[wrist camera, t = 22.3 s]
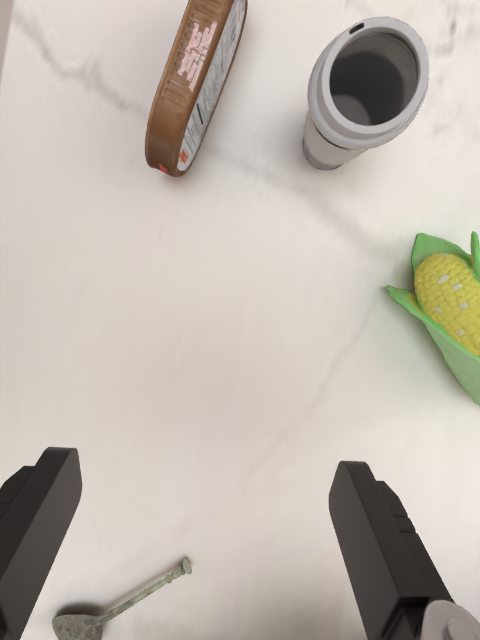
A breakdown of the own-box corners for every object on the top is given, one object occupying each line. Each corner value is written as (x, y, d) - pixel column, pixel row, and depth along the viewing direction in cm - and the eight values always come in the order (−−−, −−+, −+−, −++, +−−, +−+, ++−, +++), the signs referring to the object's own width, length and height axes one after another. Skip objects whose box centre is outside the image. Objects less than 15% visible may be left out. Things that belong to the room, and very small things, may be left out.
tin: (223, 3, 28) (211, -97, 20) (256, 20, 28) (258, -72, 20) (159, 175, 31) (126, 149, 23) (189, 189, 32) (167, 169, 23)
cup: (350, 86, 29) (415, -22, 17) (378, 159, 30) (457, 103, 19) (277, 127, 30) (291, 50, 18) (307, 196, 31) (338, 165, 20)
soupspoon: (47, 610, 44) (80, 640, 46) (30, 641, 41) (66, 671, 42) (174, 541, 40) (206, 576, 41) (167, 569, 37) (202, 606, 38)
